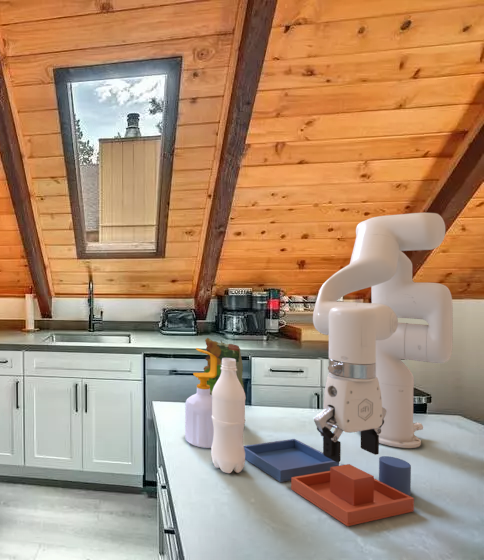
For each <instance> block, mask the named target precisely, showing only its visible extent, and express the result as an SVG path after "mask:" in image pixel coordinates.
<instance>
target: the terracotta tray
mask: <svg viewBox="0 0 484 560" xmlns="http://www.w3.org/2000/svg"><path fill="white" fill-rule="evenodd" d="M290 481H291V483H290V490H292V491H293V492H295V493H296V494H298V495H299V496H301V497H302V498H303V499H305V500H306V501H309V502H310V503H311V504H313V505H314V506H316V507H317V508H319V509H320V510H322V511H323V512H324V513H327V514H328V515H330V516H331V517H333V518H334V519H335V520H337V521H338V522H340V523H342V524H343V525H345V526H346V527H350V526H355V525H360V524H364V523H368V522H369V523H370V522H373V521H377V520H382V519H386V518H390V517H395V516H399V515H403V514H409V513H412V512H414V511H415V498H414V497H412V496H411V495H410V496H408V495H406V494H404V493H402V492H400V491H398V490H396V489H394V488H392V487H390V486H388V485H386V484H384V483H382V482H380V481H379V479H377V478H374V501H373V502H370V503H365V504H360V505H355V506H354V505H352V504H350V503H348V502H347V501H345V500H343V499H342V498H340V497H338V496H337V495H335V494H333V493H332V492H330V471H326V472H320V473H314V474H308V475H303V476H297V477H291V480H290Z"/></svg>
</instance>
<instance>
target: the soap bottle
mask: <svg viewBox="0 0 484 560" xmlns="http://www.w3.org/2000/svg"><path fill="white" fill-rule="evenodd" d="M195 350H196V351H197V352H199V353H202V354H205V355H207V354H208V355H210V358H211V362H210V372H209V373H204V372H193V373H192V374H193V376H194V377H195V378H196V379H197V380H199V383H197V384H196V393H194V394H192V395H190V396H189V397H187V399H186V400H185V403H184V404H185V407H184V408H185V409H184V410H185V411H184V412H185V415H184V420H185V421H184V433H185V434H184V439H185V441H186V442H187V443H188V444H189V445H192V446H195V447H197V448H204V449H211V447H212V443H213V436H214V427H213V421H212V396H211V395H210V386H209V385H207V381H208V380H209V378H215V377H216V375H217V358H216V356H214V355H213V354H211V353H210V352H208V351H207V350H206V349H201V348H198V347H196V348H195ZM208 355H207V356H208Z"/></svg>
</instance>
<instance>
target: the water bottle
mask: <svg viewBox="0 0 484 560" xmlns="http://www.w3.org/2000/svg"><path fill="white" fill-rule="evenodd" d="M221 366H222V367H221V368H220V369H221V375H220V377H219V379H218V380H217V382H216V384H215V386H214V388H213V391H212V421H213V427H214V436H213V443H212V447H211V448H210V449H211V451H210V455H211V461H212V464H213V465H214V468H216V469H220V471H221V472H223V473H226V474H231V473H232V472H235V473H237V474H238V473H241V472H242V470H243V469H244V466H245V463H246V459H245V450H244V446H245V445H244V429H245V426H244V424H246V399H247V397H246V392H245V389H244V390H243V388H242V385H241V384H240V382H239V380H238V378H237V375H236V371H237V369H236V359H233V358H222V365H221Z"/></svg>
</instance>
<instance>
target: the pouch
mask: <svg viewBox="0 0 484 560" xmlns="http://www.w3.org/2000/svg"><path fill="white" fill-rule="evenodd" d="M204 342H205V345H206V348H205V351H208V352H210V353H211V354H213V355H214V356H216V358H217V375H216V377H215V378H209V380H208V381H207V385H209V386H210V395H211V396H212V391H213V388H214V386H215V384H216V382H217V380H218V379H219V377H220V375H221V369H220V368H221V367H222V366H221V365H222V358H233V359H236V369H237V371H236V375H237V378H238V380H239V382H240V384H241V385H242V388H243V390H244V391H245V385H244V382H243V381H244V380H243V372H244V369H243V368H244V366H243V365H244V364H243V359H242V353H241V348H240V346H239V345H237V344H234V343H226V342H223V341H222V340H220V342H219V341H215V340H212V339H211V338H210V337H207V338H205V339H204ZM206 355H207V356H205V357H204V358H205V361H207V363H206V364H207V365H205V366H204V367H203V373H209V372H210V362H211V358H210V355H208V354H206ZM245 424H246V423H245ZM245 424H244V427H245Z"/></svg>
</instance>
